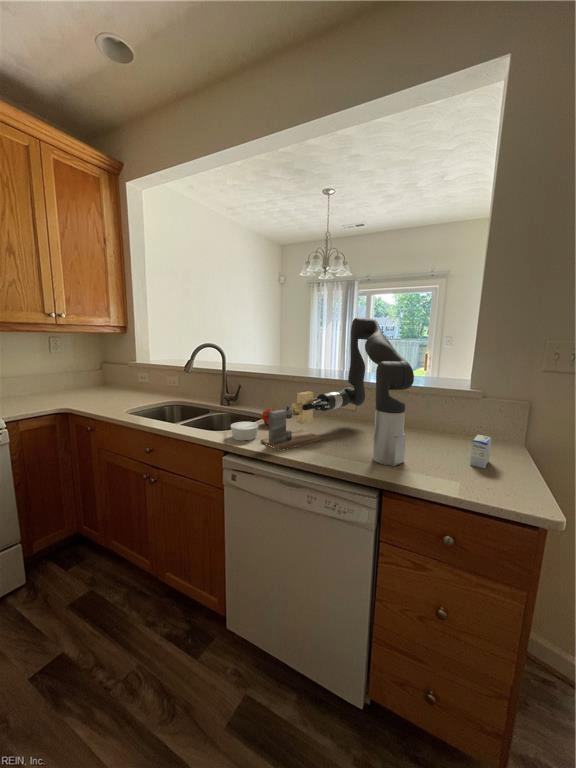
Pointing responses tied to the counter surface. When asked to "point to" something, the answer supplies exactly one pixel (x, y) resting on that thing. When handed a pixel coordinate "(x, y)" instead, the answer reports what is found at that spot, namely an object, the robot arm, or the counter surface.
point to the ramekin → (244, 430)
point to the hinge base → (295, 440)
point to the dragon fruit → (266, 415)
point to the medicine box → (480, 451)
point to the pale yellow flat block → (297, 408)
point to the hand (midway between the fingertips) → (300, 407)
